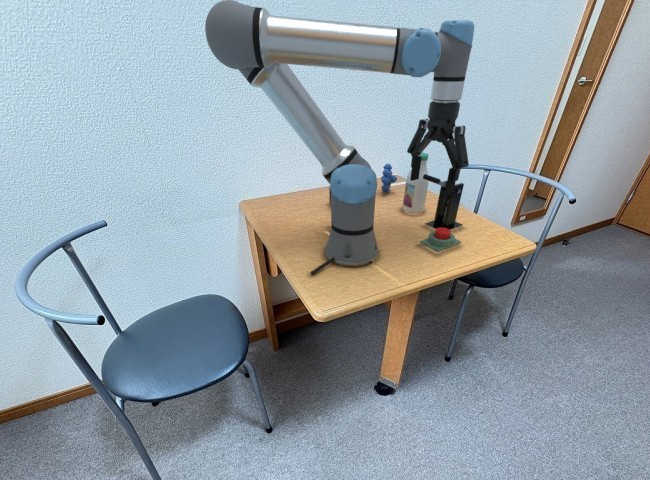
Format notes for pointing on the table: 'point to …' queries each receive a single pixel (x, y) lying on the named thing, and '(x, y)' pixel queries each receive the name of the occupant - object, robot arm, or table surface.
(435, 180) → the lever
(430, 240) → the button box
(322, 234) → the table surface
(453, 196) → the bracket
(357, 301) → the table surface
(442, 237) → the button
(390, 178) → the grapes
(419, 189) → the milk bottle
